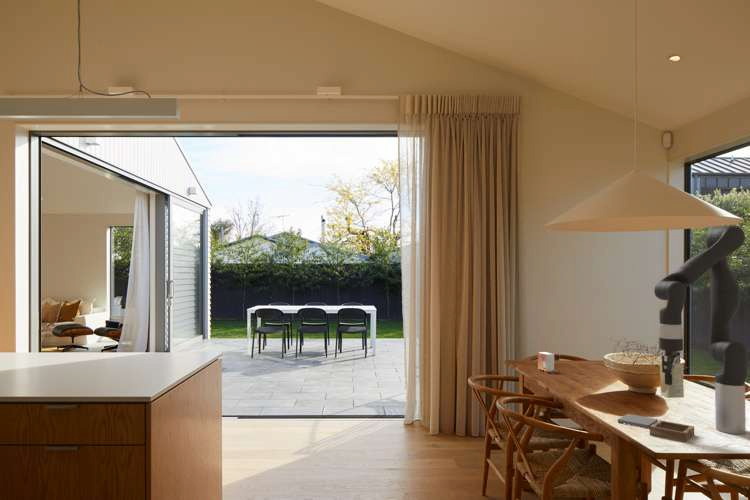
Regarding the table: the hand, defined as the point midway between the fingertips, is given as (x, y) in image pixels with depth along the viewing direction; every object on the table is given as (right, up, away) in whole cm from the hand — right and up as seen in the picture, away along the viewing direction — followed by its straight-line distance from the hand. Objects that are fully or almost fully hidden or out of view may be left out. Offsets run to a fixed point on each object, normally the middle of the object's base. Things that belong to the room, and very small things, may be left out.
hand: (671, 382), depth 192 cm
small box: (-8, -23, +117) cm, 119 cm away
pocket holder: (0, -18, -1) cm, 18 cm away
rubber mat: (-5, -19, +15) cm, 25 cm away
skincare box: (0, -5, 0) cm, 5 cm away
